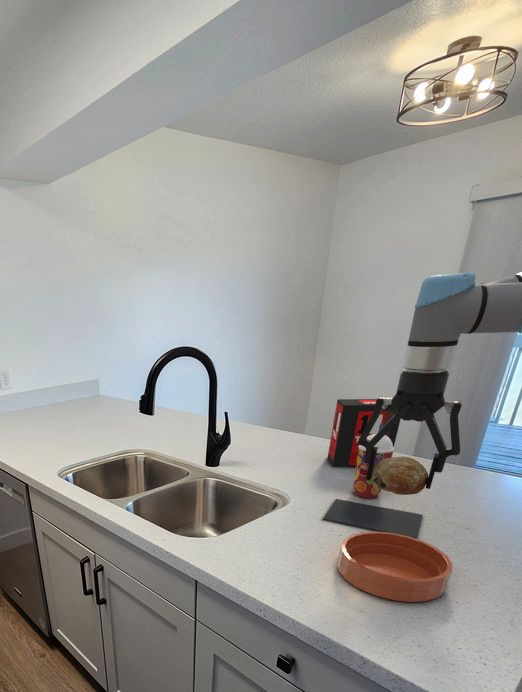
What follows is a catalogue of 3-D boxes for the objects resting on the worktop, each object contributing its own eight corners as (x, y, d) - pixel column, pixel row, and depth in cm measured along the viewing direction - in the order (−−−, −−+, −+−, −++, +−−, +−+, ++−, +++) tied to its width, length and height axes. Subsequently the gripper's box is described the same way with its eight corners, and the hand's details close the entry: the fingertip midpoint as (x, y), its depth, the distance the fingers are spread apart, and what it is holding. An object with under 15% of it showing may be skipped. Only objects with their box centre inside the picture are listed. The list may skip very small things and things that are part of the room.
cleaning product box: (332, 467, 142) (343, 405, 133) (327, 458, 150) (337, 399, 141) (388, 468, 138) (404, 404, 129) (380, 459, 146) (394, 398, 137)
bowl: (447, 566, 89) (454, 545, 86) (441, 616, 76) (449, 593, 73) (347, 543, 99) (351, 524, 97) (327, 583, 86) (331, 562, 84)
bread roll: (362, 496, 95) (356, 468, 91) (396, 469, 96) (392, 440, 92) (404, 513, 87) (400, 483, 83) (441, 483, 88) (440, 452, 84)
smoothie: (376, 488, 125) (392, 419, 116) (387, 500, 118) (405, 427, 109) (345, 488, 126) (359, 419, 117) (354, 499, 119) (369, 427, 110)
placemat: (422, 515, 109) (422, 514, 109) (416, 539, 99) (416, 537, 99) (335, 500, 120) (336, 498, 120) (322, 519, 110) (323, 518, 110)
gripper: (502, 368, 77) (465, 485, 87) (360, 365, 89) (342, 468, 99) (505, 374, 71) (464, 498, 81) (354, 371, 84) (334, 479, 94)
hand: (397, 482), depth 90 cm, fingers closed on bread roll, 10 cm apart
